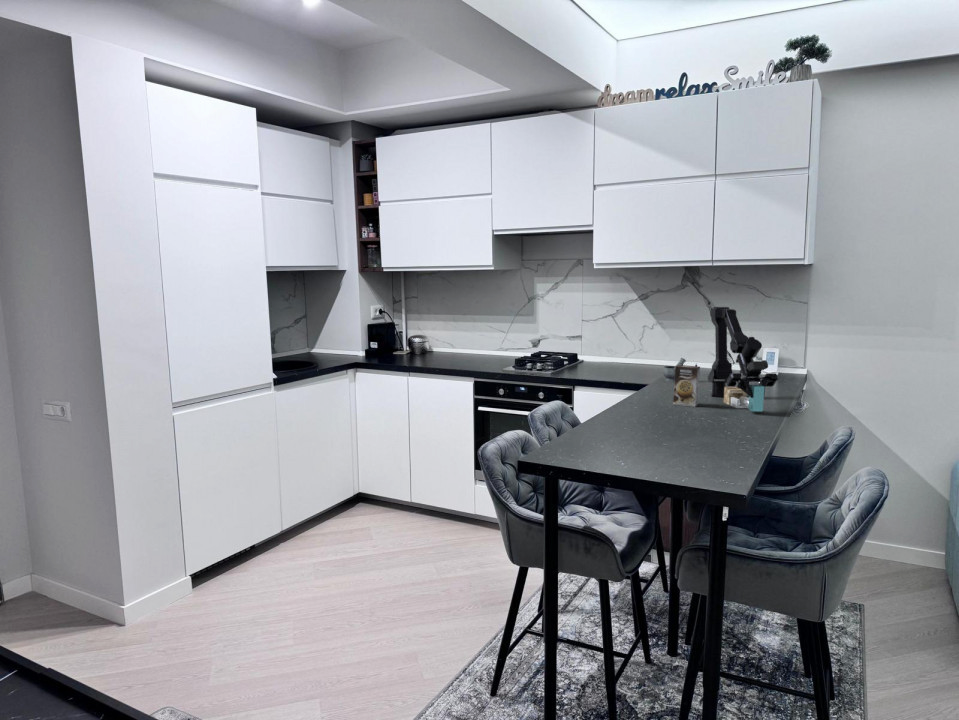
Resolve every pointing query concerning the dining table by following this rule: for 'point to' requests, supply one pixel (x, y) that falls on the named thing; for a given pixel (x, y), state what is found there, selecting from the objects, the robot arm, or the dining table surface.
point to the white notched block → (737, 403)
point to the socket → (732, 394)
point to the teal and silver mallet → (754, 398)
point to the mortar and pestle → (671, 371)
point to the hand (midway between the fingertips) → (757, 397)
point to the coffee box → (686, 385)
